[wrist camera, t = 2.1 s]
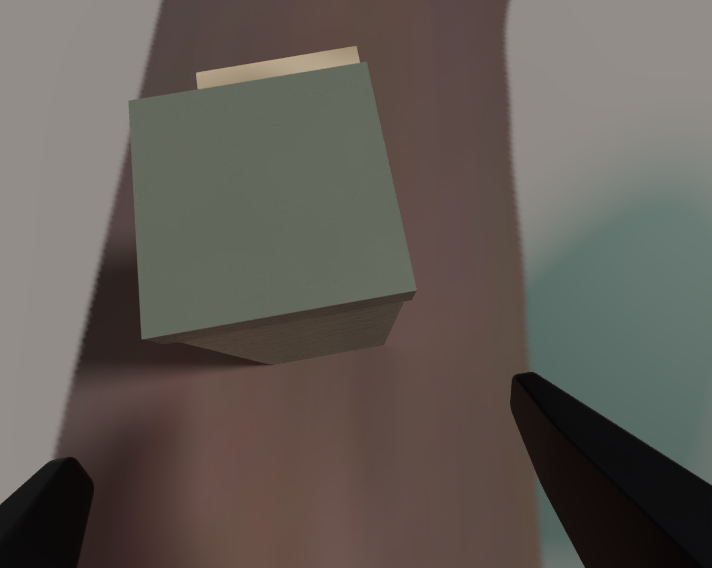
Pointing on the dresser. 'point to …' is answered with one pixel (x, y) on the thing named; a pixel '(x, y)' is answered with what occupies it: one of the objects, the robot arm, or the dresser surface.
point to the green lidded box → (268, 217)
